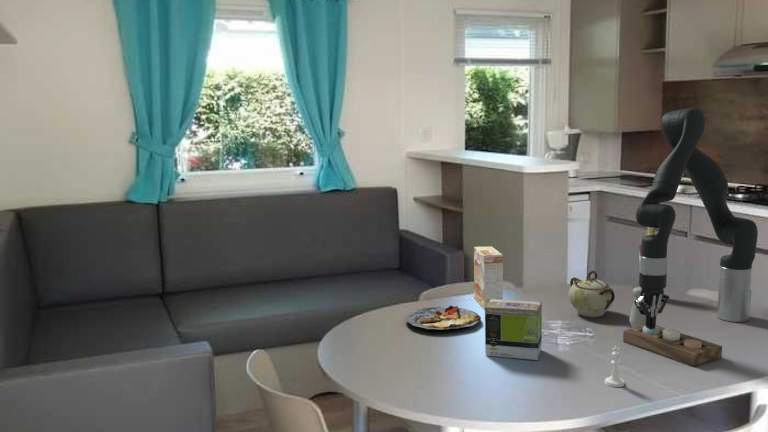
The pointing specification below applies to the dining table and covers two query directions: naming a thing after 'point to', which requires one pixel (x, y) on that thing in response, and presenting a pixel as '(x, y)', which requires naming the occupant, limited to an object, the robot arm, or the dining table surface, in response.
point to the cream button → (671, 335)
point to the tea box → (513, 328)
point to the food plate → (442, 318)
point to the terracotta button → (692, 344)
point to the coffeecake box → (487, 275)
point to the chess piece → (615, 371)
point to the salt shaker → (636, 311)
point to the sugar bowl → (591, 296)
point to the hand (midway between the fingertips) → (650, 328)
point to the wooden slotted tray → (673, 346)
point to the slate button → (651, 331)
